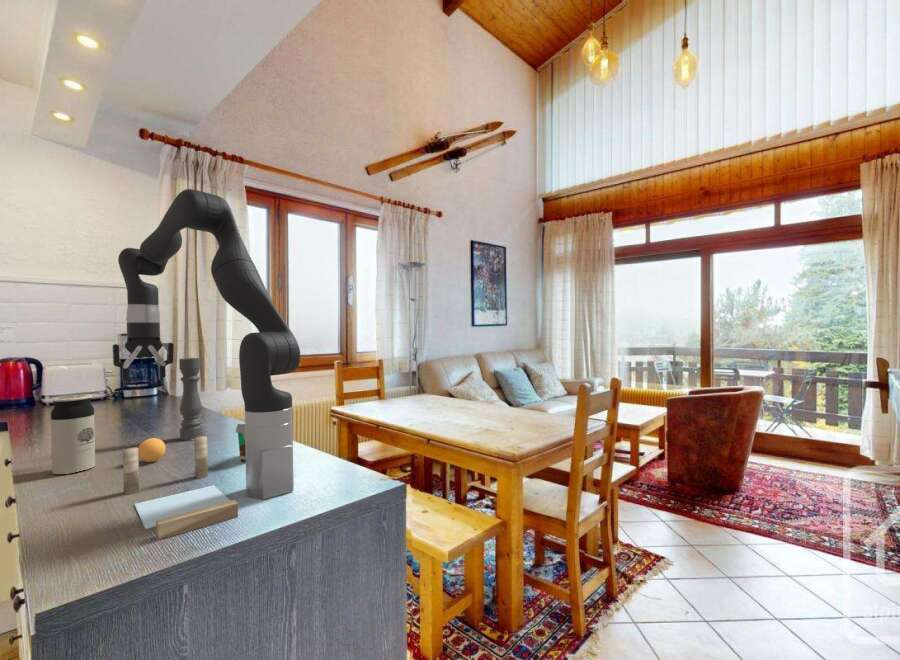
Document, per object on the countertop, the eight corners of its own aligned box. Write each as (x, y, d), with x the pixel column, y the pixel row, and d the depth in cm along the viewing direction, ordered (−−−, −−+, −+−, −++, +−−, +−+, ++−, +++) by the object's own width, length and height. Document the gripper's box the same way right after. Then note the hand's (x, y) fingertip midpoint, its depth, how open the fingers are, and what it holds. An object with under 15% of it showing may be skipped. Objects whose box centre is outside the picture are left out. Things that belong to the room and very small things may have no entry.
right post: (209, 476, 99) (208, 437, 99) (196, 479, 97) (195, 439, 97) (206, 473, 101) (205, 435, 101) (193, 476, 99) (193, 437, 99)
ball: (167, 461, 110) (167, 438, 110) (139, 466, 106) (138, 442, 106) (163, 456, 115) (163, 434, 115) (136, 461, 111) (135, 438, 111)
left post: (139, 491, 90) (139, 449, 90) (124, 495, 88) (123, 451, 88) (138, 488, 92) (137, 446, 92) (123, 491, 90) (122, 449, 90)
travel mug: (44, 473, 103) (42, 398, 103) (83, 463, 110) (81, 393, 110) (64, 477, 100) (62, 400, 100) (102, 466, 107) (101, 395, 107)
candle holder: (175, 439, 132) (173, 359, 132) (193, 434, 138) (192, 357, 138) (189, 441, 130) (187, 359, 130) (207, 436, 136) (205, 358, 136)
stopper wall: (238, 516, 77) (237, 503, 77) (158, 539, 69) (158, 524, 69) (234, 513, 79) (234, 499, 79) (156, 535, 71) (156, 520, 71)
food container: (258, 465, 106) (257, 425, 106) (236, 464, 108) (235, 424, 108) (286, 451, 118) (285, 415, 118) (266, 450, 120) (266, 414, 120)
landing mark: (233, 505, 82) (233, 504, 82) (145, 529, 73) (145, 528, 73) (214, 486, 93) (214, 485, 93) (134, 505, 83) (134, 504, 83)
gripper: (111, 321, 111) (113, 384, 111) (176, 321, 121) (177, 379, 121) (109, 321, 117) (110, 382, 117) (171, 321, 126) (172, 377, 126)
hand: (144, 380), depth 119 cm, fingers open, 7 cm apart
